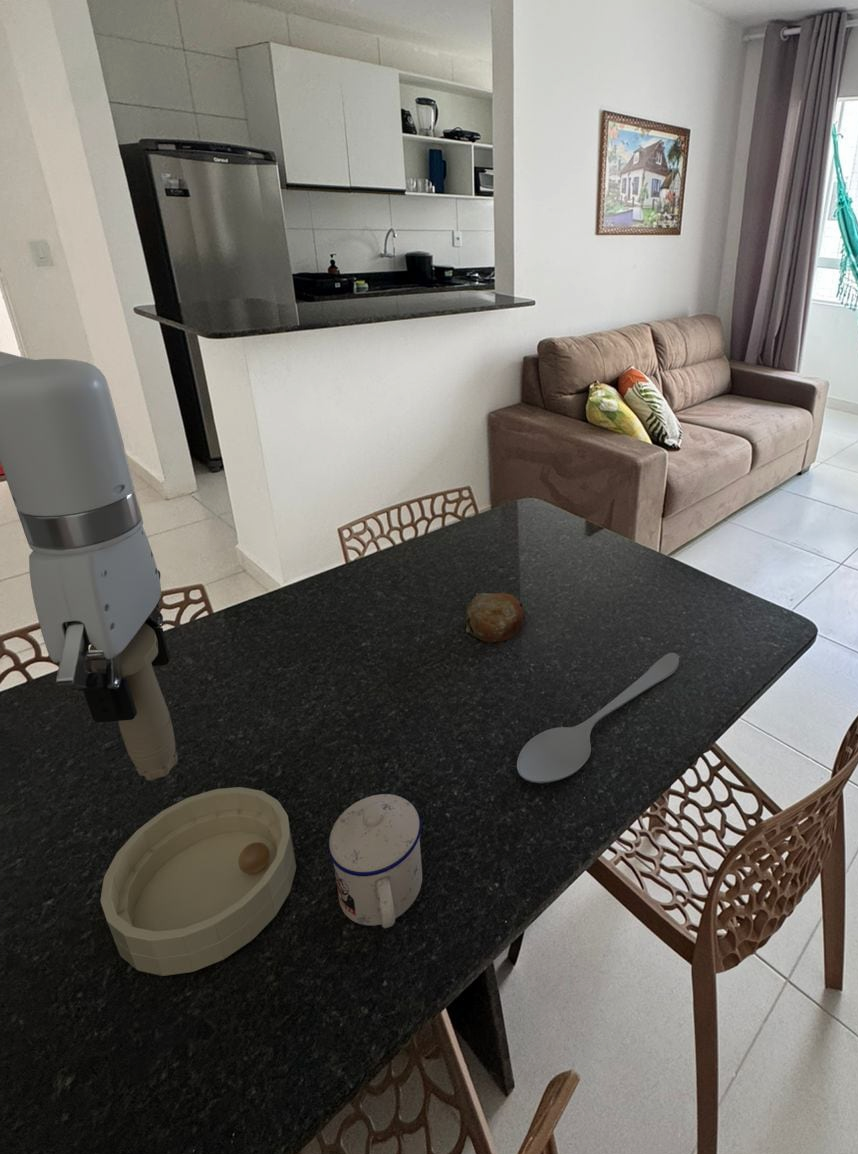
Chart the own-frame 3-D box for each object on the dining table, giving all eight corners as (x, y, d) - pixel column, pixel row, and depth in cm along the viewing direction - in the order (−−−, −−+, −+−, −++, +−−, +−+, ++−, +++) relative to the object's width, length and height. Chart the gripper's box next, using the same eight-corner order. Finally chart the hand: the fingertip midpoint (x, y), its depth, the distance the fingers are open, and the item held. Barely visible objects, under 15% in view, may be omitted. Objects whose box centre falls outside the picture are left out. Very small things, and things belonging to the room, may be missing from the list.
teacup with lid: (333, 865, 74) (321, 790, 69) (416, 837, 77) (410, 765, 73) (343, 973, 64) (330, 895, 59) (438, 936, 68) (433, 859, 63)
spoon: (543, 808, 82) (544, 793, 81) (499, 772, 86) (500, 757, 85) (693, 678, 107) (696, 665, 106) (654, 655, 112) (656, 642, 111)
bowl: (81, 991, 61) (64, 951, 59) (159, 832, 76) (147, 794, 74) (272, 965, 64) (263, 926, 62) (311, 817, 79) (305, 780, 77)
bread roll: (464, 634, 118) (446, 607, 113) (508, 596, 122) (492, 568, 117) (495, 664, 111) (477, 636, 106) (540, 622, 115) (524, 594, 110)
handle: (127, 803, 61) (84, 675, 55) (131, 754, 66) (92, 631, 60) (188, 783, 63) (154, 658, 57) (187, 737, 68) (155, 617, 62)
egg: (237, 881, 71) (232, 863, 70) (245, 856, 74) (241, 837, 72) (267, 878, 71) (262, 859, 70) (274, 853, 74) (270, 834, 73)
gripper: (87, 473, 60) (132, 634, 67) (-47, 577, 45) (32, 770, 52) (177, 472, 61) (212, 629, 69) (78, 572, 46) (137, 761, 53)
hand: (134, 688), depth 60 cm, fingers closed on handle, 6 cm apart
